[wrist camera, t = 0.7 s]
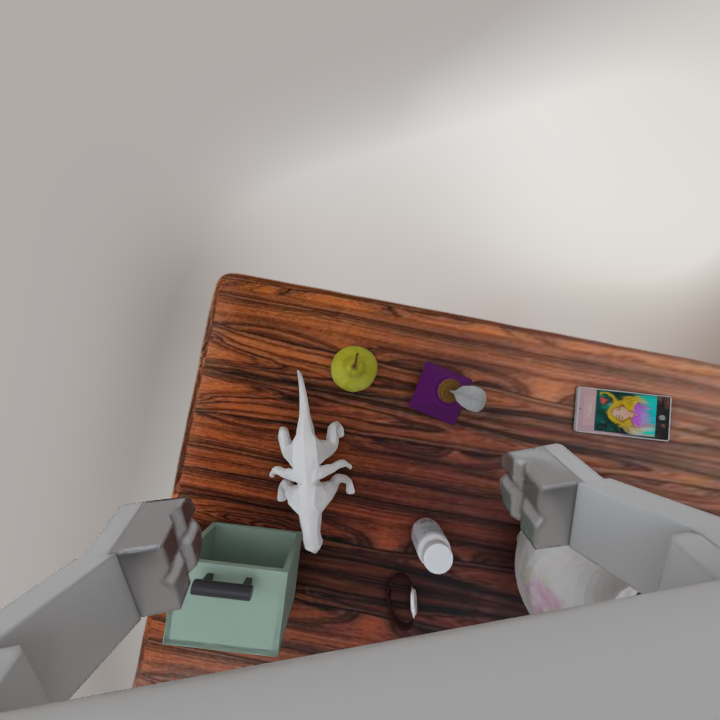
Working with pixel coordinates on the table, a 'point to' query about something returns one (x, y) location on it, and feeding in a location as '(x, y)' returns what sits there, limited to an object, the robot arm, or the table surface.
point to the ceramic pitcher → (562, 578)
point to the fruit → (354, 368)
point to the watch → (409, 625)
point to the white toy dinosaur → (310, 471)
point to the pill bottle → (432, 546)
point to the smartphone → (622, 413)
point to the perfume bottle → (445, 394)
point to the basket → (238, 591)
